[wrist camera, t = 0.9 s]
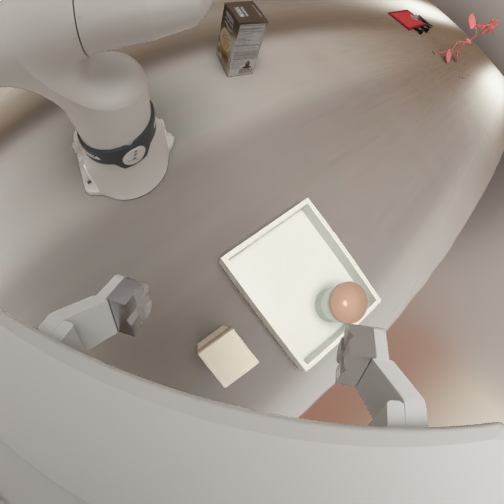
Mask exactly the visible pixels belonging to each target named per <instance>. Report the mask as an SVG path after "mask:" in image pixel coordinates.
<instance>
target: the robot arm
mask: <svg viewBox="0 0 504 504" xmlns="http://www.w3.org/2000/svg"><path fill="white" fill-rule="evenodd" d="M213 1H214V0H1V1H0V87H13V88H20V89H25V90H28V91H31V92H34V93H37V94H39V95H41V96H43V97H45V98H47V99H49V100H51V101H53V102H54V103H55V104H57V105H58V106H59V107H61V108H62V109H63V110H64V111H65V113H66V114H67V116H68V117H69V119H70V120H71V122H72V123H73V125H74V127H75V128H76V130H75V132H74V134H73V138H74V142H73V143H72V147H73V150H74V152H75V153H77V158H78V162H79V167H80V171H81V175H82V179H83V183H84V187H85V190H86V192H87V194H89V195H106V196H108V197H111V198H114V199H119V200H129V199H134V198H138V197H141V196H143V195H145V194H147V193H148V192H150V191H151V190H152V189H154V188H155V187H156V186H157V185H158V184H159V183H160V181H161V180H162V179H163V177H164V175H165V173H166V170H167V167H168V159H169V152H170V151H171V149H172V147H173V145H174V142H175V140H174V137H173V135H172V134H171V133H169V132H168V131H167V130H166V129H165V125H164V122H163V120H162V119H159V118H158V117H157V116H156V113H155V110H154V107H153V104H152V102H151V101H150V98H149V91H148V83H147V76H146V73H145V71H144V69H143V68H142V66H141V65H140V64H139V63H138V62H137V61H136V60H134V59H133V58H132V57H130V56H129V55H126V54H124V53H120V52H115V51H110V50H114V49H117V48H121V47H126V46H130V45H134V44H139V43H144V42H149V41H153V40H156V39H159V38H162V37H165V36H168V35H172V34H175V33H178V32H181V31H184V30H187V29H190V28H193V27H195V26H197V25H198V24H199V23H200V22H201V21H202V19H203V18H204V17H205V16H206V14H207V13H208V12H209V10H210V8H211V6H212V4H213ZM90 181H92V182H91V183H90V184H88V183H89V182H90ZM148 291H149V287H148V284H147V283H146V282H143V281H139V280H136V279H132V278H129V277H124V276H121V275H115V276H114V277H113V278H112V279H111V280H110V281H109V282H108V283H107V284H106V285H105V286H104V288H103V289H102V290H101V291H100V292H99V293H98V294H97V295H96V296H94V295H93V296H90V297H88V298H85V299H83V300H80V301H78V302H75V303H73V304H71V305H68V306H66V307H63V308H61V309H58V310H56V311H53V312H51V313H50V314H49V315H48V316H47V317H46V318H45V320H44V321H43V322H42V323H41V324H40V325H39V326H38V327H37V329H34V328H33V327H31V326H29V325H27V324H26V323H24V322H22V321H21V320H19V319H17V318H15V317H14V316H12V315H11V314H9V313H7V312H6V311H4V310H2V309H1V308H0V504H504V424H503V423H499V422H496V423H495V422H494V423H485V424H477V425H466V426H450V427H428V419H427V410H426V403H425V400H424V399H423V398H422V396H421V395H420V394H419V393H418V391H417V390H416V389H415V388H414V386H413V385H412V384H411V383H410V381H409V380H408V379H407V378H406V376H405V375H404V374H403V373H402V371H401V370H400V369H399V368H398V367H397V365H396V364H395V363H394V362H393V361H390V360H389V353H388V346H387V338H386V331H385V329H384V328H378V327H369V326H362V325H355V324H347V325H346V327H345V330H344V337H342V338H341V340H340V343H339V346H338V350H337V362H338V364H339V365H338V367H337V369H336V382H335V384H342V385H349V386H356V389H357V391H358V393H359V395H360V396H361V398H362V400H363V402H364V404H365V405H366V407H367V409H368V411H369V412H370V415H371V416H372V418H373V420H372V421H371V423H370V424H369V425H368V426H360V425H349V424H338V423H330V422H321V421H314V420H307V419H300V418H294V417H288V416H282V415H277V414H271V413H266V412H261V411H256V410H252V409H247V408H243V407H238V406H234V405H230V404H226V403H222V402H218V401H214V400H211V399H207V398H203V397H200V396H196V395H193V394H190V393H186V392H183V391H180V390H177V389H174V388H171V387H167V386H164V385H162V384H159V383H156V382H153V381H150V380H147V379H144V378H142V377H139V376H136V375H134V374H131V373H128V372H126V371H123V370H121V369H118V368H116V367H113V366H111V365H109V364H106V363H104V362H102V361H99V360H97V359H95V358H93V357H90V356H88V355H87V353H86V352H87V351H88V350H90V349H92V348H93V347H95V346H96V345H98V344H100V343H101V342H103V341H105V340H106V339H108V338H110V337H111V336H113V335H115V334H116V333H118V332H121V333H124V334H128V335H131V336H135V335H136V333H137V332H138V331H139V329H140V328H141V321H143V320H145V319H147V317H148V316H149V314H150V311H151V306H152V302H151V298H150V297H149V295H148V294H147V293H148Z"/></svg>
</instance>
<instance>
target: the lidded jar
mask: <svg viewBox="0 0 504 504" xmlns="http://www.w3.org/2000/svg"><path fill="white" fill-rule="evenodd" d="M367 305H368V301H367V295H366V293H365V291H364V289H363V288H362V287H361V286H360V285H359V284H357V283H355V282H351V281H348V282H343V283H340V284H338V285H337V286H333V287H329V288H325V289H323V290H322V291H321V292H320V293H319V294H318V296H317V298H316V301H315V309H316V312H317V314H318V316H319V317H320V318H321V319H322V320H324V321H326V322H341V323H345V324H351V323H355V322H357V321H359V320H360V319H361V318H362V317H363V316H364V314H365V312H366V310H367Z"/></svg>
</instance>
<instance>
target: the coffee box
mask: <svg viewBox="0 0 504 504" xmlns="http://www.w3.org/2000/svg"><path fill="white" fill-rule="evenodd" d="M267 24H268V20H267V19H266V18H265V16H264V15H263V14H262V12H261V11H260V10H259V8H258V7H257V6H256V4H255V3H254V2H253V1H243V2H229V3H225V5H224V11H223V17H222V23H221V29H220V35H219V41H218V48H217V56H218V58H219V60H220V62H221V64H222V66H223V68H224V70H225V72H226V74H227V76H228V77H231V76H237V75H244V74H252V73H253V70H254V66H255V63H256V60H257V56H258V53H259V50H260V47H261V43H262V40H263V37H264V34H265V31H266V27H267Z"/></svg>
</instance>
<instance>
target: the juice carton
mask: <svg viewBox="0 0 504 504" xmlns="http://www.w3.org/2000/svg"><path fill="white" fill-rule="evenodd" d="M197 347H198V350H197V353H198V355H199V356H200V358H201V359H202V360H203V362H204V363H205V364H206V365H207V367H208V368H209V369H210V370H211V372H212V373H213V374H214V375H215V377H216V378H217V379H218V380H219V382H220V383H221V384H222V385H223V386H224V388H226V387H227V386H229V385H230V384H231V383H233V382H234V381H236V380H237V379H238V378H240V377H241V376H242V375H244V374H245V373H246V372H248V371H249V370H250V369H252V368H253V367H254V366H255V365H257V364H258V363H259V361H258V360H257V359H256V357H255V356H254V355H253V354H252V352H251V351H250V350H249V348H248V347H247V346H246V345H245V343H244V342H243V341H242V339H241V338H240V337H239V336H238V334H237V333H236V332H235V330H234V329H233V328H231V327H226V326H223V325H222V326H221V327H220V328H218V329H217V330H215V331H214V332H213V333H211V334H210V335H209V336H207V337H206V338H204V339H203V340H202V341H200V342H199V343H198V344H197Z"/></svg>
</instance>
